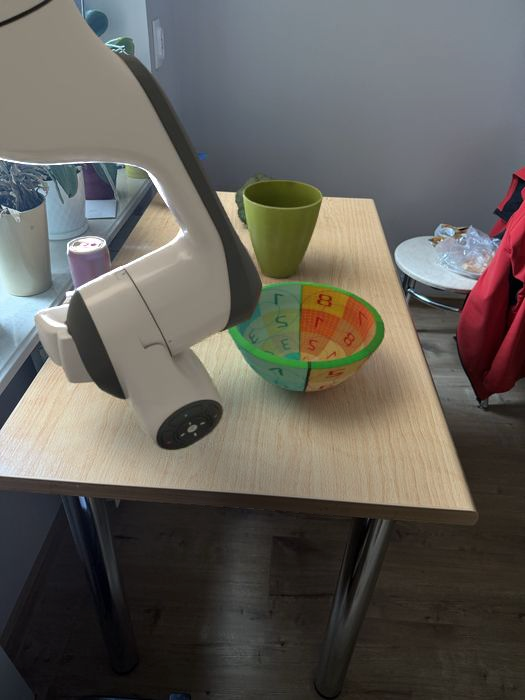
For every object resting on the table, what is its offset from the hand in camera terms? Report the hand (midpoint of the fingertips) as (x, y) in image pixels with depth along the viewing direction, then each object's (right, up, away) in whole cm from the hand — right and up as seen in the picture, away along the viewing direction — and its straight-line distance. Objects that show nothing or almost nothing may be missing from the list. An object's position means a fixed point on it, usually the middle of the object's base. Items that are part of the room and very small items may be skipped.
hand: (107, 288), depth 71 cm
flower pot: (+24, +8, +37) cm, 45 cm away
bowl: (+26, -12, +10) cm, 31 cm away
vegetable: (+20, +23, +57) cm, 65 cm away
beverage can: (-6, -5, +17) cm, 18 cm away
